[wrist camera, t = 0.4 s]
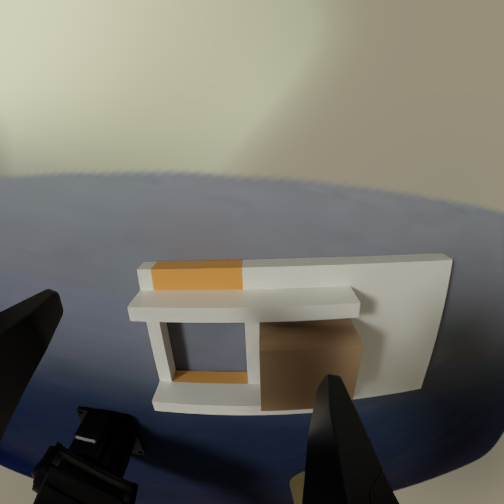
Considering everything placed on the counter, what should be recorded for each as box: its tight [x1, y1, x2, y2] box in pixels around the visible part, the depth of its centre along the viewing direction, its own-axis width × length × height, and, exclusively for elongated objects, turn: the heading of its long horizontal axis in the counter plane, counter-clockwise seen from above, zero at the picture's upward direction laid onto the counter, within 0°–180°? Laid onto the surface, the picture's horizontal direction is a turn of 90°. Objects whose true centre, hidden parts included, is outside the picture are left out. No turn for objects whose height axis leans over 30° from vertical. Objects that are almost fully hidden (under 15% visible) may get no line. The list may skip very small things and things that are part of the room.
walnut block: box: [259, 318, 363, 411], centre depth 20 cm, size 6×5×4 cm
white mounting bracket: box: [127, 253, 453, 415], centre depth 21 cm, size 22×12×4 cm, turn 92°
